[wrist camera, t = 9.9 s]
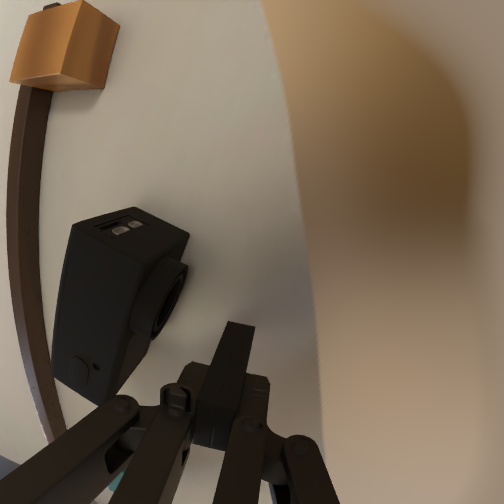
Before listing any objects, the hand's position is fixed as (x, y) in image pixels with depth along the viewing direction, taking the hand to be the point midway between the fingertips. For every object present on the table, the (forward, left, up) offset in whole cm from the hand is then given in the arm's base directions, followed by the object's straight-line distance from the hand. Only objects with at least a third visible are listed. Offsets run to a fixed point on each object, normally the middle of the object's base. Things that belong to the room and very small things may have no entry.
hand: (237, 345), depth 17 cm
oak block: (+15, -16, -4) cm, 22 cm away
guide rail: (+18, 0, -4) cm, 19 cm away
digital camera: (+7, 0, -4) cm, 8 cm away
